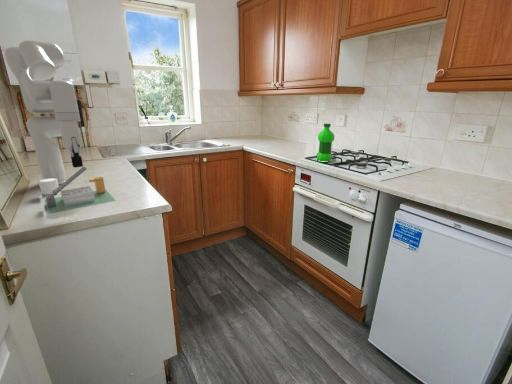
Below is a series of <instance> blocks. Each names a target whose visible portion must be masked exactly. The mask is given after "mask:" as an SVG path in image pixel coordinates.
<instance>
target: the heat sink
mask: <svg viewBox="0 0 512 384" xmlns="http://www.w3.org/2000/svg"><path fill="white" fill-rule="evenodd" d="M93 191H94V190H93V189H92V187H91V186H90V185H87V186H83V187H75V188H69V189H62V190H61V191H60V195H61V196H60V197H62V200H63V202H64V205H65V207H68V206H73V205H78V204H83V203H89V202H94V201H95V197H94V193H93ZM44 195H45V196H44V197H45V200H46V201H47V204H48V208H51V207H57V206H56V202H55V198H56V197H55V195H53V194H44Z"/></svg>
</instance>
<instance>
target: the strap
mask: <svg viewBox="0 0 512 384" xmlns="http://www.w3.org/2000/svg"><path fill="white" fill-rule="evenodd" d="M86 170H87V167H86V166H85V165H83V166H82V167H80V169H79V170H78V171H76V172H75V173H74V174H72V175H71V176H70V177H69V179H68V180H66V181H65V182H64V183H63V184H59V185H58V188H57V189H55V190H53V191H52V192H53V195H54V196H57V195H58V194H59V192H60V193H61V191H62V190H64V188H66V187H67V186H68V185H70V184H71V182H73V181H75V180H76V178H78V177H79V176H81V175H82V174H83V173H84V172H85V171H86Z"/></svg>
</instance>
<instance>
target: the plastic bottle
mask: <svg viewBox="0 0 512 384" xmlns="http://www.w3.org/2000/svg"><path fill="white" fill-rule="evenodd" d="M331 125H332V124H331V123H323V127H324V128H323V130H321V131H320V132H319V133H318V135H317V140H318V141H319V146H318V153H317V155H316V159H317V160H318V161H319V160H320V161H329V162H330V161H331V160H332V159H333V155H332V145H333V141H335V134H334V133H333V131H331V130H330V128H331ZM320 161H319V162H320Z"/></svg>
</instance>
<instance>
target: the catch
mask: <svg viewBox="0 0 512 384" xmlns="http://www.w3.org/2000/svg"><path fill="white" fill-rule="evenodd" d="M88 182H89V183H94V186H95V191H96V192H97V193H102V192H106V191H105V189H106V187H105V186H106V185H105V180H104V177H103V176H97V177H89V178H88Z"/></svg>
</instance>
